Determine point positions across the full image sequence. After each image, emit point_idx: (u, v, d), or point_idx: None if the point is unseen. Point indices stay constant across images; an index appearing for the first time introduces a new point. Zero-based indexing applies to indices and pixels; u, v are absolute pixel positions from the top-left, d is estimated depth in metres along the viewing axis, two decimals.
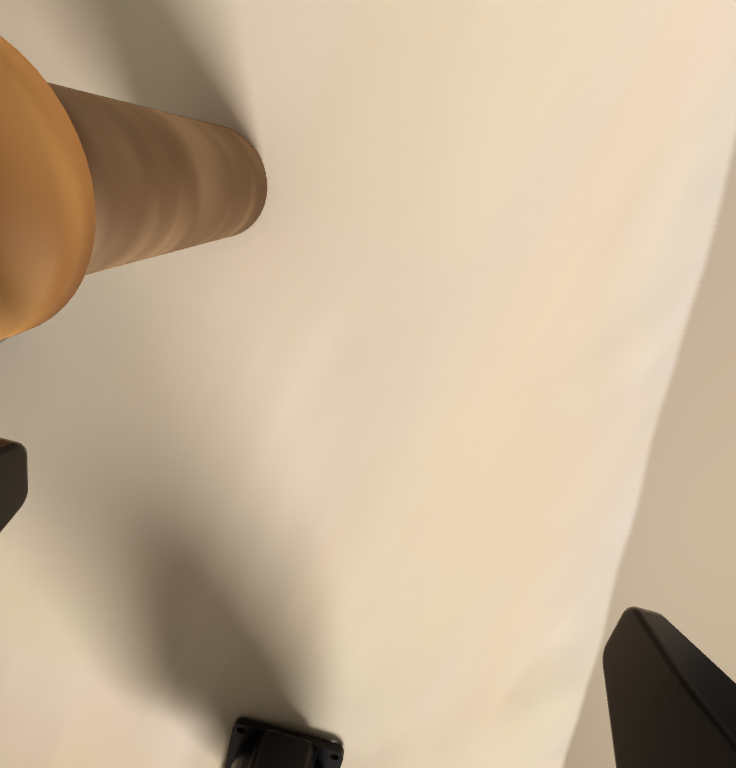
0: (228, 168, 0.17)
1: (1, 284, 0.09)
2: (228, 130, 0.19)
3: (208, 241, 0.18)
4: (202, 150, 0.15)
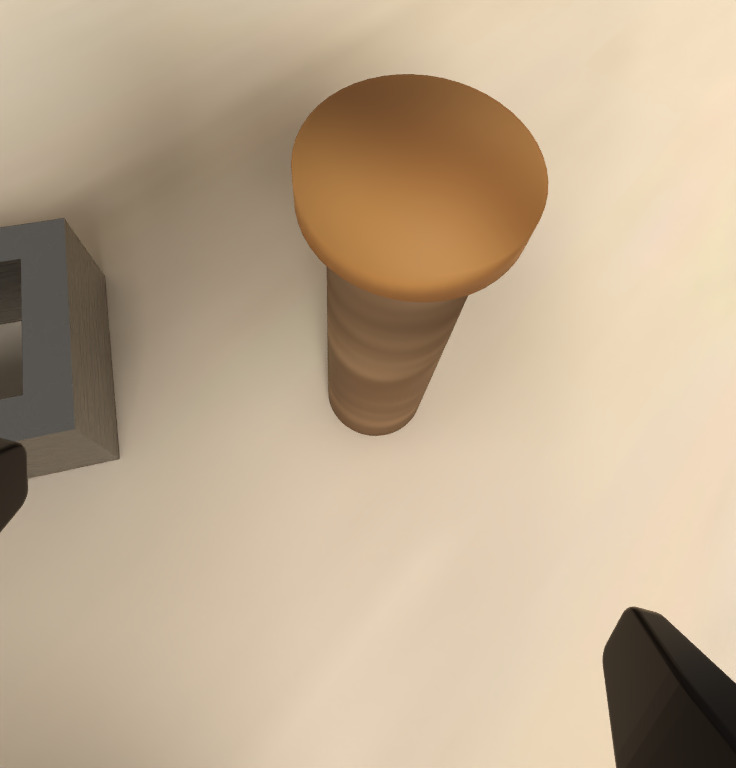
0: None
1: (474, 239, 0.11)
2: None
3: (388, 411, 0.20)
4: None
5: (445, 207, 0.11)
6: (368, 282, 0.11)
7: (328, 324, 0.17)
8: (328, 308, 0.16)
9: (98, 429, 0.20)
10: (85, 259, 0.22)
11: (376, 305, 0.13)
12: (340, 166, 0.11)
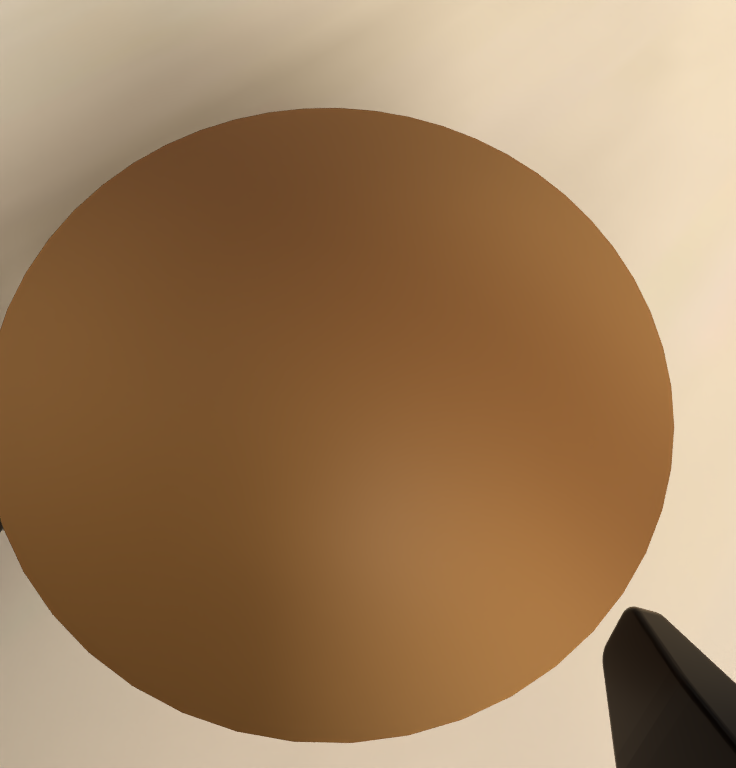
0: None
1: (486, 591, 0.04)
2: None
3: None
4: None
5: (403, 480, 0.04)
6: None
7: None
8: None
9: None
10: None
11: None
12: (128, 356, 0.04)
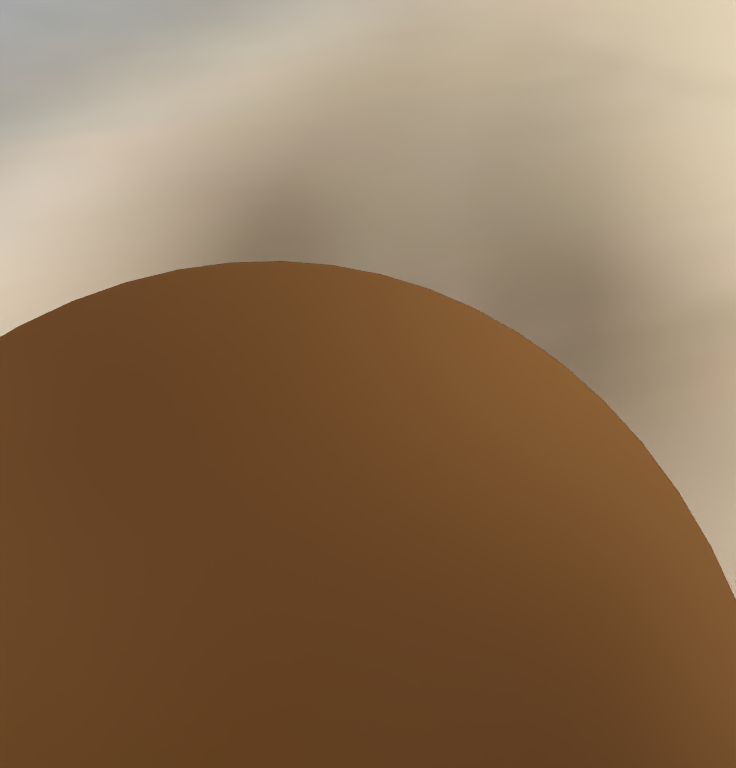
0: None
1: None
2: None
3: None
4: None
5: None
6: None
7: None
8: None
9: None
10: None
11: None
12: None
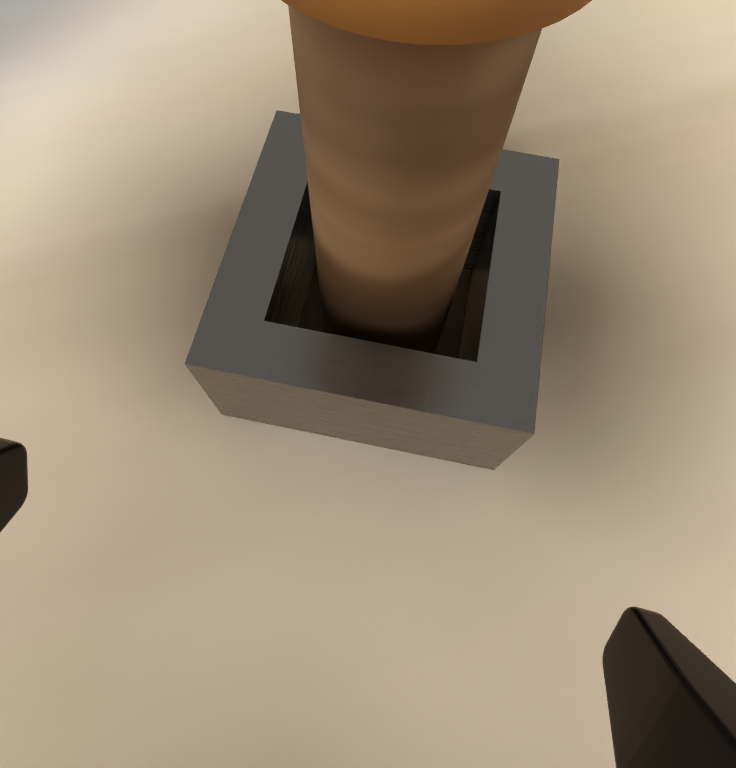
0: None
1: None
2: None
3: (400, 337, 0.15)
4: None
5: None
6: (354, 3, 0.06)
7: (310, 204, 0.12)
8: (307, 169, 0.11)
9: None
10: None
11: (374, 111, 0.08)
12: None
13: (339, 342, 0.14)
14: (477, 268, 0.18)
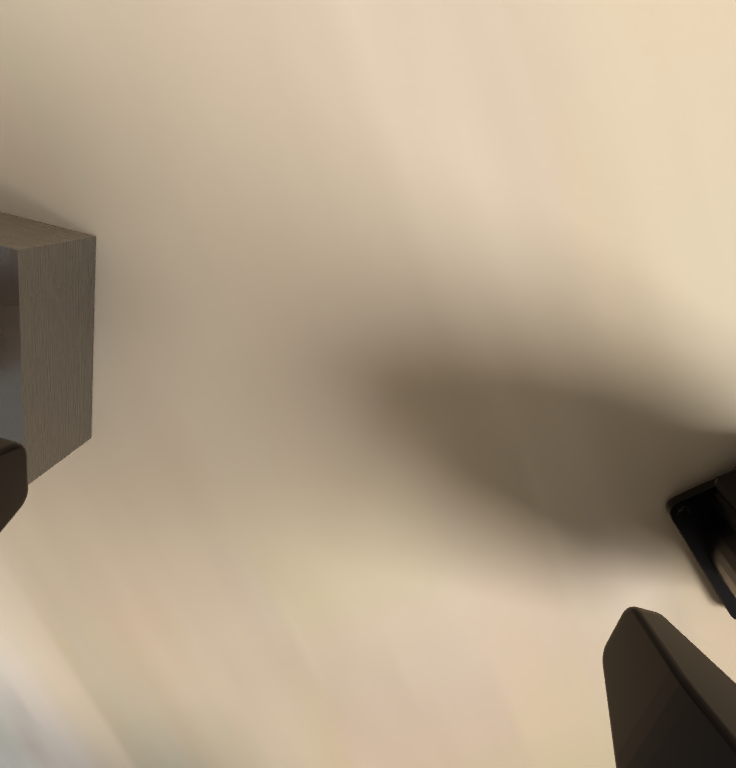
0: None
1: None
2: None
3: None
4: None
5: None
6: None
7: None
8: None
9: (43, 237, 0.18)
10: None
11: None
12: None
13: None
14: None
